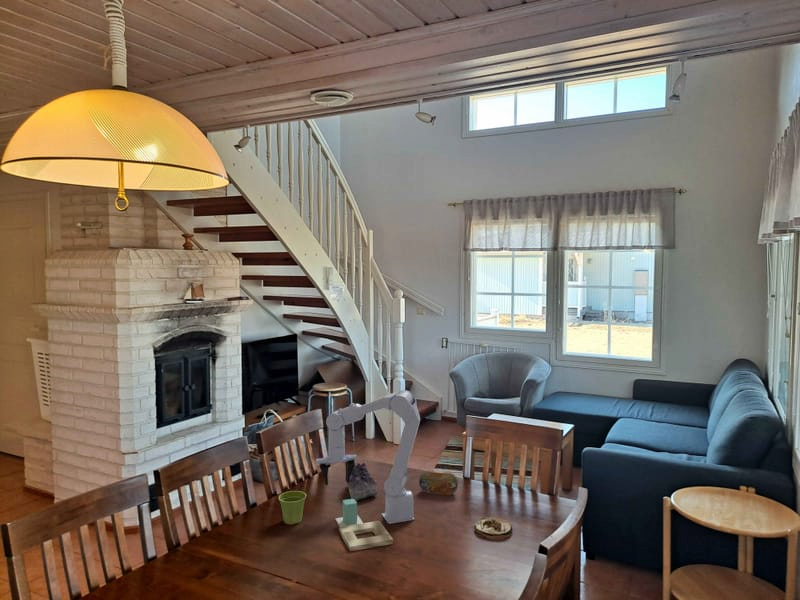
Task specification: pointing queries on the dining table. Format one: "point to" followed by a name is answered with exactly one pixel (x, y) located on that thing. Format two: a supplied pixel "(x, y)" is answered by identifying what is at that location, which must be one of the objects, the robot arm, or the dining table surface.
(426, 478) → the tin
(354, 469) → the geode
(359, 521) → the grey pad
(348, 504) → the teal block
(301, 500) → the plant pot
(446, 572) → the dining table surface
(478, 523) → the beige round shallow dish
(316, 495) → the dining table surface
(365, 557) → the dining table surface
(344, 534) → the board
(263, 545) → the dining table surface
